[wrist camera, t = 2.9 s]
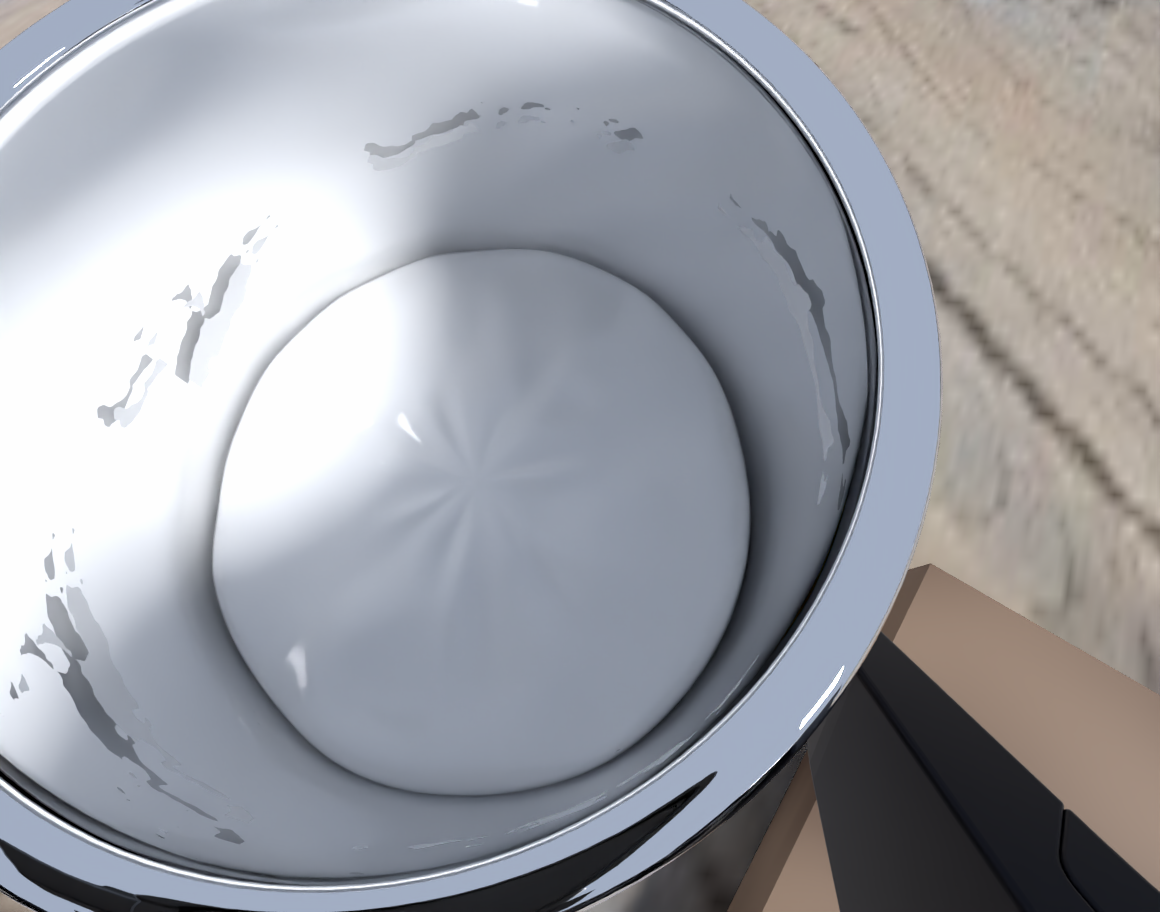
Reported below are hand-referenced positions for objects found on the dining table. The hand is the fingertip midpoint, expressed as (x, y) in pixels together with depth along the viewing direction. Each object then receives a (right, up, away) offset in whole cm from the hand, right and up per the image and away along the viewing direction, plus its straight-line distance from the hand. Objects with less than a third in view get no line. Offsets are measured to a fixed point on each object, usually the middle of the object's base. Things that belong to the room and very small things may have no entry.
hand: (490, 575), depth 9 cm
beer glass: (0, -2, +9) cm, 9 cm away
